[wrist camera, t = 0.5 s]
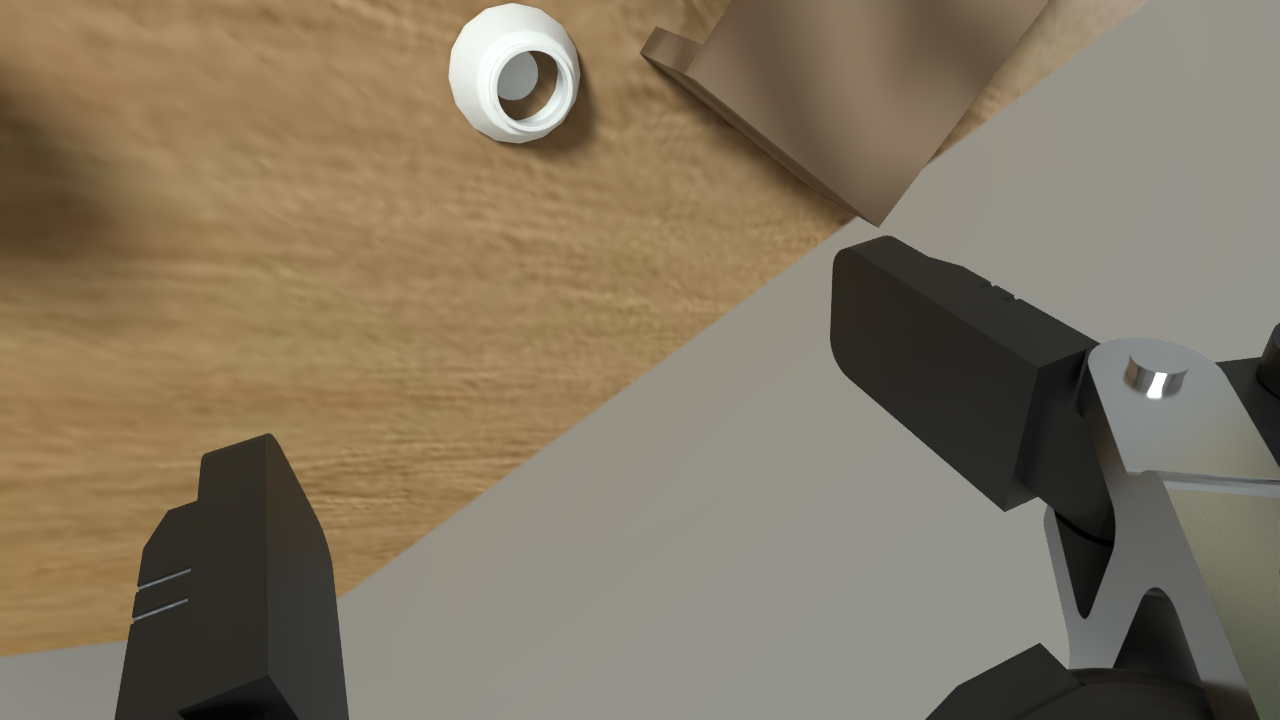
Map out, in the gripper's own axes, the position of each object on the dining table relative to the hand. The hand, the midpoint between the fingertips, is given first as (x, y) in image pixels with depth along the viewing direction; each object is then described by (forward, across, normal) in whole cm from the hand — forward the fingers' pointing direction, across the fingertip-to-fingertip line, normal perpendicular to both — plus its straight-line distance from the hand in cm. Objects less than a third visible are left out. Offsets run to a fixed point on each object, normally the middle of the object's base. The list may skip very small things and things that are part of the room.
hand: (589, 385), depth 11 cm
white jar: (+22, -5, +1) cm, 23 cm away
